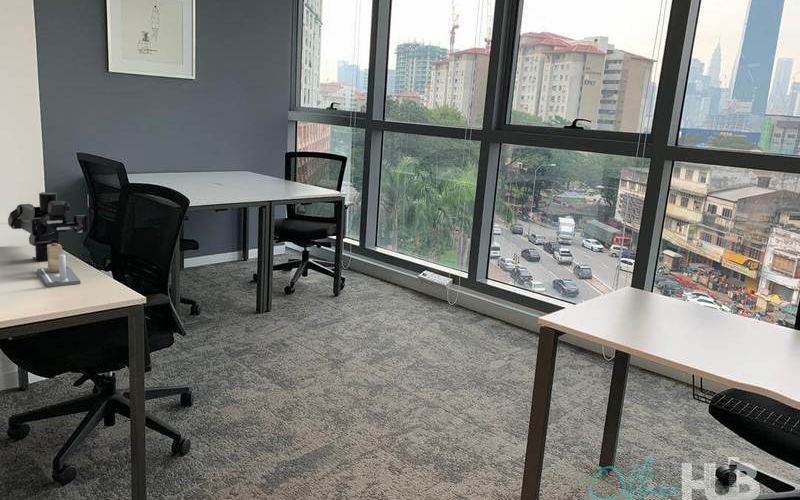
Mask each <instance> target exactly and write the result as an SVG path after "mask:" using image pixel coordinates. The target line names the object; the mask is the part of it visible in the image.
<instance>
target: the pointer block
mask: <svg viewBox="0 0 800 500" xmlns="http://www.w3.org/2000/svg"><path fill="white" fill-rule="evenodd" d="M47 253H48V261H47V268H48V270H49V271H50V272H58V271H59V255H61V254H63V245H61V243H58V244H57V243H52V245H47Z"/></svg>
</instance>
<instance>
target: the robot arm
mask: <svg viewBox="0 0 800 500" xmlns="http://www.w3.org/2000/svg"><path fill="white" fill-rule="evenodd" d="M38 198H39V199H38V201H39V206H34V205H33V204H30V203H24V204H23V203H21V204H20V203H19V204H17V206H16V208H15V209H13V210H12V211H11V212H9V215H8V218H7V224H8V226H9V227H10V228H11V229H12V230H23V231H25V232H27V233H29V237H28V243H29V245H31V246H33V247H34V249H35V256H32V260H34V261H35V262H38V263H40V262H48V253H47V245H52V243H57V244H59V237H60V233H66V232H67V230H74V233H76V234H78V233H79V234H80V233H87V232H88V230H89V220H88V219H89V217H88V216H87V215H85V214H77V215H74V216H73V222H71V221H70V222H67V219H68V217H67V215H66V214H67V213H69V212H70V211H71V205H70V203H69V202H67V201H64V200H58V193H57V192H48V191H47V192H43V191H42V192H39V193H38Z"/></svg>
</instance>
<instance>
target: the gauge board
mask: <svg viewBox="0 0 800 500" xmlns="http://www.w3.org/2000/svg"><path fill="white" fill-rule="evenodd" d="M66 261H67V260H66V254H63V253H62V254H61V255H59V271H58V272H50V271H49V270H48V267H44V268H37V269H36V271H37V272H36V273H37V274H38V275H39V277H40V278H41V280H42V282H43V283H44V284H45V286H46V287H47V288H50V287H51V288H52V287H60V286H61V287H63V286H72V285H73V286H74V285H81V279H80V278H79V277H78V275H76V274H75V272H74V270H72V269H71V268H70V266H69V265H67V264H66V263H67V262H66Z"/></svg>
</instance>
